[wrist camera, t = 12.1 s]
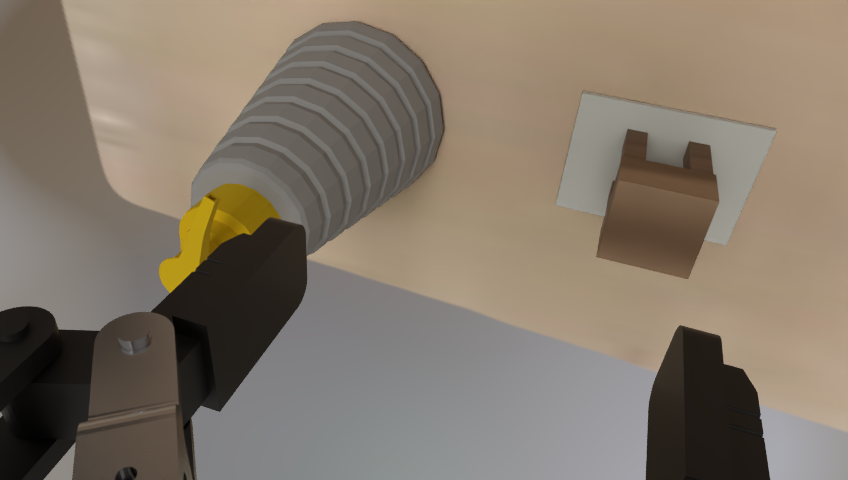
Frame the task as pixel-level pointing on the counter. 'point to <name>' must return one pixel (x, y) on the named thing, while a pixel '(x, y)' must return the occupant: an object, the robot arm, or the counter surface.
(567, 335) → the counter surface
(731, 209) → the felt pad
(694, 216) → the wooden pronged block
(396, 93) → the soap bottle
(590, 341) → the counter surface
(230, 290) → the robot arm
